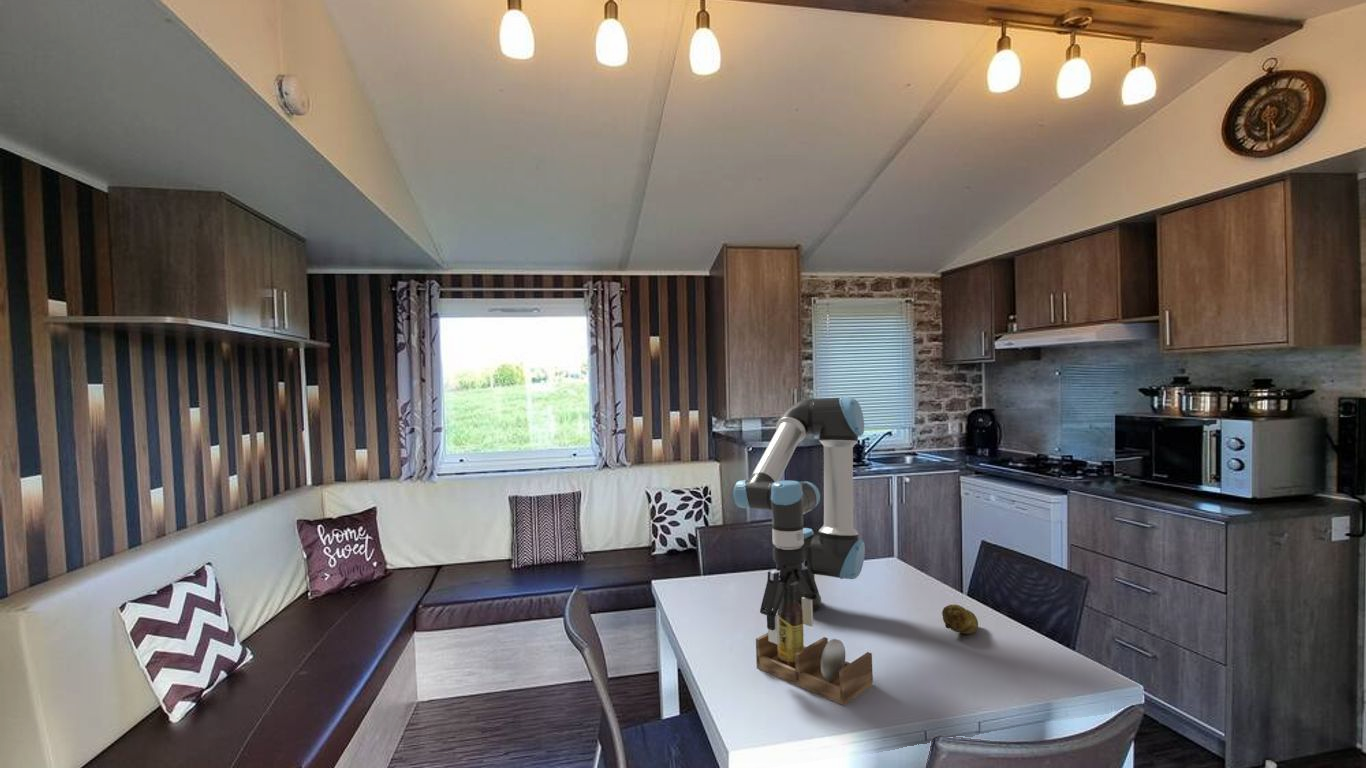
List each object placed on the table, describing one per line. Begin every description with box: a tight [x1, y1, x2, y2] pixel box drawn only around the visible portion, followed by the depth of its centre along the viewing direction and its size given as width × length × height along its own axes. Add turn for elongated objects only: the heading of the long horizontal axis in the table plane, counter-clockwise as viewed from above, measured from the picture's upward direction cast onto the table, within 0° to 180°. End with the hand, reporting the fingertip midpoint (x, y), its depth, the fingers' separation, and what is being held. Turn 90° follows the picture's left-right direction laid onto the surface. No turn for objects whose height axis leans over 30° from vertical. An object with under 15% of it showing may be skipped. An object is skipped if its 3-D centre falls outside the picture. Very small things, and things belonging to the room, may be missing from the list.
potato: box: [941, 604, 979, 635], centre depth 153 cm, size 8×13×8 cm, turn 113°
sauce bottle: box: [776, 581, 805, 668], centre depth 137 cm, size 6×6×20 cm
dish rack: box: [755, 632, 874, 706], centre depth 132 cm, size 24×12×10 cm, turn 43°
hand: (791, 633), depth 137 cm, fingers open, 13 cm apart
